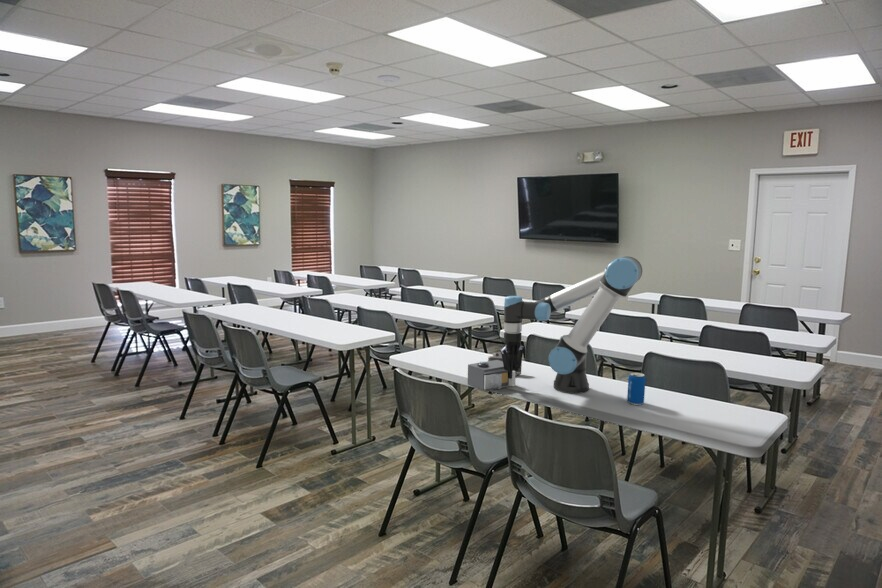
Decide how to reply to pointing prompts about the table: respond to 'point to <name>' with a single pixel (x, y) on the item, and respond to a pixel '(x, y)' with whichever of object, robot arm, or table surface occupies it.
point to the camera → (499, 357)
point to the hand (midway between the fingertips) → (511, 385)
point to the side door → (493, 381)
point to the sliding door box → (484, 368)
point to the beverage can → (636, 388)
